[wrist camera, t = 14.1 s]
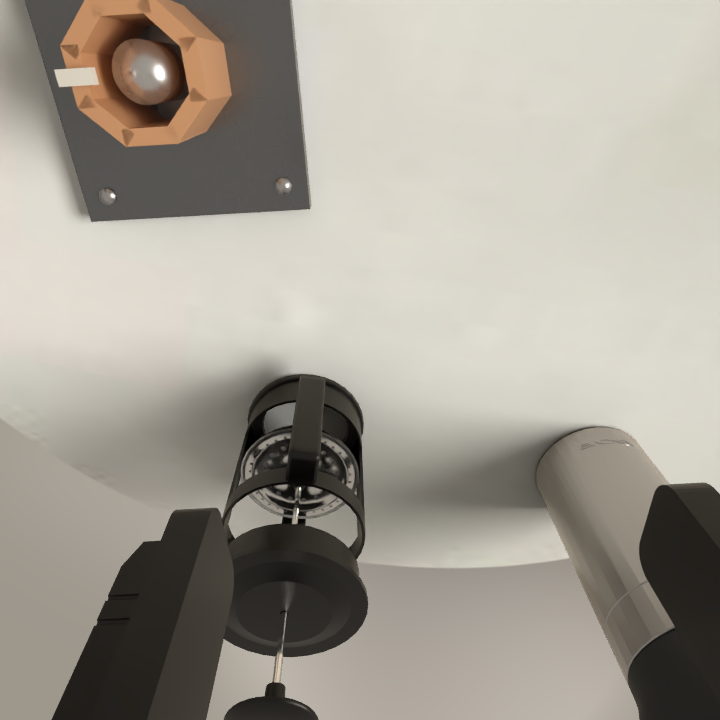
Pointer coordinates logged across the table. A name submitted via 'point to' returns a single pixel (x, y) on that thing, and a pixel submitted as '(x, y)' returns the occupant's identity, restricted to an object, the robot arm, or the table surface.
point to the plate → (166, 95)
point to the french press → (296, 537)
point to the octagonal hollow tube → (104, 98)
